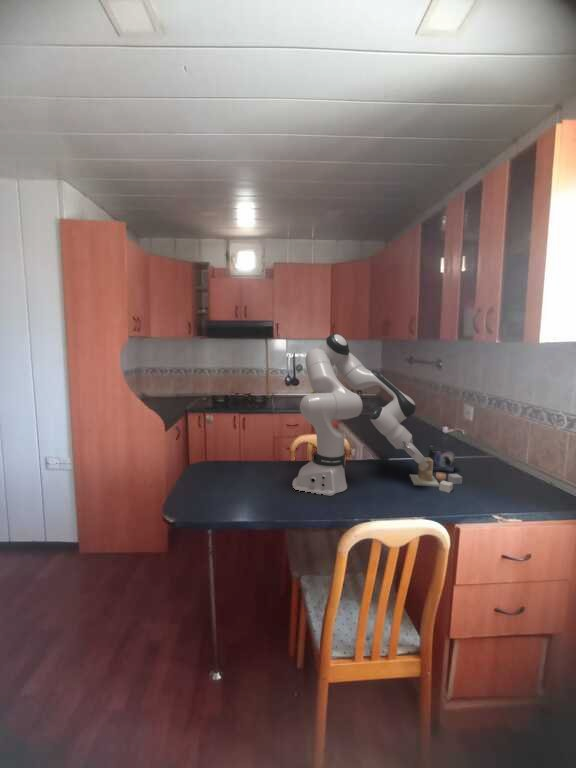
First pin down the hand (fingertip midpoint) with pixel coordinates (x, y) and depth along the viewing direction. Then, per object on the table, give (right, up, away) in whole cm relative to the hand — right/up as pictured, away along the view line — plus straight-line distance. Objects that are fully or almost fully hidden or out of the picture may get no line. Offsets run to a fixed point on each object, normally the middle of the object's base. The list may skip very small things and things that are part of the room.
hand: (423, 462), depth 155 cm
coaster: (+1, -8, +2) cm, 9 cm away
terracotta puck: (+8, -9, +3) cm, 12 cm away
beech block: (+1, -8, +2) cm, 8 cm away
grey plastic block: (+14, -9, +1) cm, 16 cm away
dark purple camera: (+13, -7, +15) cm, 22 cm away
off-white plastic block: (+6, -10, -7) cm, 14 cm away
